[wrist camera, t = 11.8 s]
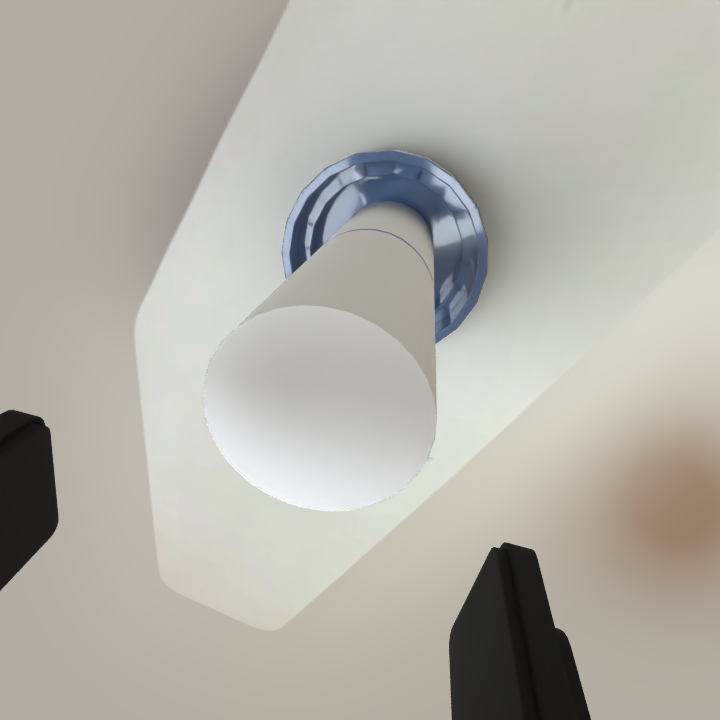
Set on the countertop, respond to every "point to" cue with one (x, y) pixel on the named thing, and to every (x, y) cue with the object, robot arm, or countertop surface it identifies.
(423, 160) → the bowl
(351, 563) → the countertop surface
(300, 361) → the cylindrical container
